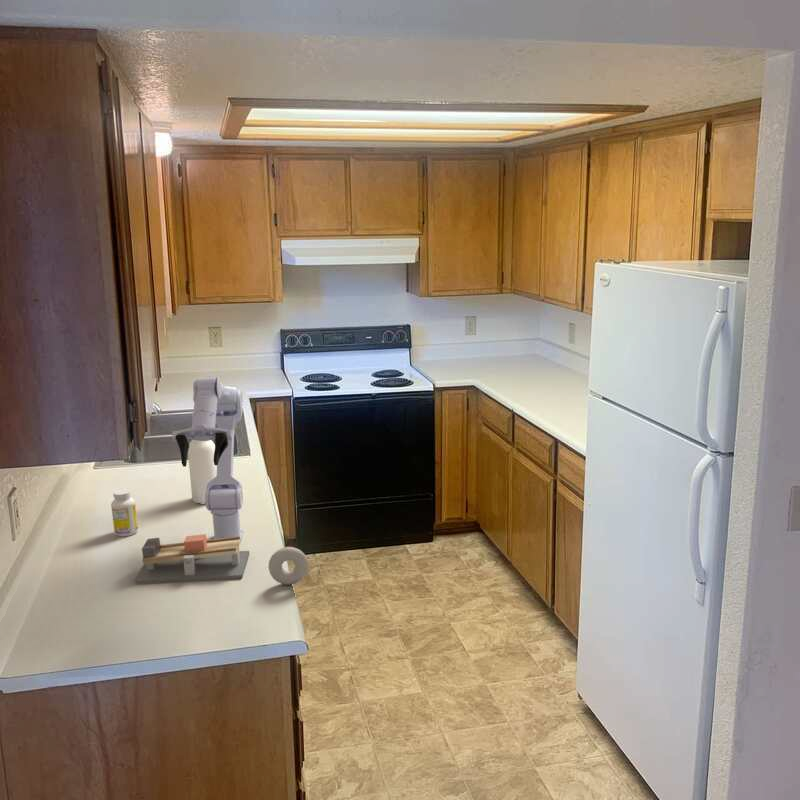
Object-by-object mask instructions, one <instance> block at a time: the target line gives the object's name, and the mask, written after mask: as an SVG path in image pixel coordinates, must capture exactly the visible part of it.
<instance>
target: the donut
mask: <svg viewBox="0 0 800 800" xmlns="http://www.w3.org/2000/svg"><path fill="white" fill-rule="evenodd" d="M288 561H291V562H293V563H294V566H295V567H294V568H293V569H292V570H286V569H284V568H283V564H284V563H285V562H288ZM309 564H310V563H309V560H308V557H307V556H306V553H304V552H303V551H302V550H301V549H299V548H296V547H293V546H284V547H281V548H279V549H277V550H276V551H275V552H273V554H272V555H271V556H270V558H269V561H268V571H269V574H270V576H271V577H272V579H273V580H274V581H275V582H277V583H279V584H281V585H288V586H291V585H295V584H298V583H299V582H301V581H302V580H303V579H304V578H305V577H306V575H307V574H308V571H309Z"/></svg>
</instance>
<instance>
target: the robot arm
mask: <svg viewBox="0 0 800 800" xmlns="http://www.w3.org/2000/svg"><path fill="white" fill-rule="evenodd" d="M192 390H193V397H192V399H193V411H192V412H193V414H192V416H193V417H192V422H191V427H187V428H184V429H180V430H173V431H172V433H171V435H172V436H171V439H172V441H173V442H176V443H177V445H178V447H179V452H180V458H181V459H180V460H181V465H182V467H187V464H188V461H187V460H188V449H189V444H190V442H188V441H192V440H197V441H209V440H212V441H213V440H214V444H215V451H214V464H215V465H217V476H216V477H215V478H214V479H212V480H211V481H210V482H208V485H207V490H206V494H205V504H204V505H205V508H206V510H207V511H208V512H209V511H210V515H212V523H213V524H212V525H213V534H214V535H213V539H219V538H228V537H237V536H240V539H241V540H242V539H243V535H244V532H245V530H244V529H241V524H240V522H241V521H240V511H239V510H241V509H242V507H243V504H244V502H243V501H244V495H243V494H244V493H243V485H242V483H241V481H240V480H238V479H237V478H235V476H234V474H233V473H234V453H235V451H234V447H235V446H234V445H235V444H234V443H235V429H236V425H237V423H238V422H240V421H241V420H242V416H243V404H244V403H243V401H244V400H243V393H242V391H241V390H240V389H238V388H237V387H233V386H225V385H224V384H223V383H222V382H221V379H220V377H219V376H218V377H216V376H214V377H212V376H206V377H197V378H196V379H194V380H193V383H192ZM216 426H217V427H216Z"/></svg>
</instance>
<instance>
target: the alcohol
mask: <svg viewBox="0 0 800 800" xmlns="http://www.w3.org/2000/svg"><path fill="white" fill-rule="evenodd" d="M191 414H192V415H191V416H192V418H193V411H192V412H191ZM214 451H215V442H214V441H213V440H209V441H197V440H190V442H189V449H188V453H187V460H188V468H189V477H190V479H189V480H190V489H191V499H192V501H193V503H195V502H196V503H195V504H197V503H202V504H201V505H204V504H203V503H205V494H206V490H207V485H208V482H210V481H211V480H212V479H214V478H215V477H216V476H217V465H215V464H214Z"/></svg>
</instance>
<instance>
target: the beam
mask: <svg viewBox="0 0 800 800" xmlns="http://www.w3.org/2000/svg"><path fill="white" fill-rule="evenodd" d="M241 541H242V539H240V536H237V537H228V538H219V539H214V538H212V539H207V547H206V549H205V551H198V552H190V553H185V547H184V542H177V543H169V544H161V541H160V537H154V538H152V537H151V538H147V540H146V541H145V543H144V545H143V546H142V547H141V551H142V563H143V565H144V564H152V563H161V562H169V561H178V560H183V558H184V556H185V555H194V559H196V558H204V557H213V556H222V555H231V554H237V551H238V548H239V549H240V545H241V543H242V542H241Z"/></svg>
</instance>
